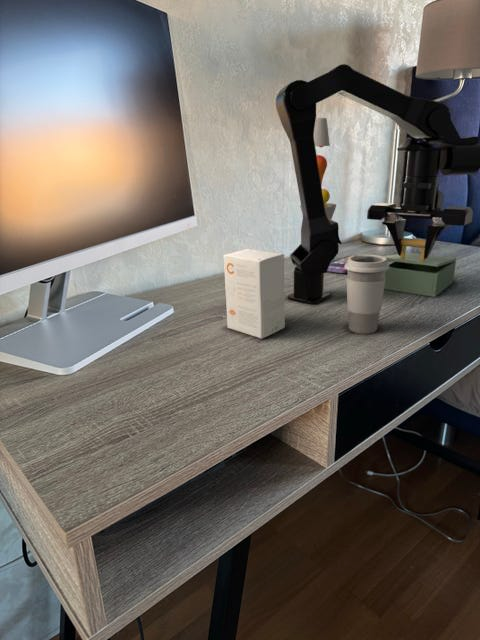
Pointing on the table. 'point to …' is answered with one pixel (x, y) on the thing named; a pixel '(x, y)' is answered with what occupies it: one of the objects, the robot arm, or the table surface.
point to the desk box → (419, 278)
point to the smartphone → (339, 265)
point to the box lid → (418, 255)
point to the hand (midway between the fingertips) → (413, 256)
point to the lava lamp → (323, 161)
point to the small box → (255, 292)
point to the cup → (365, 291)
